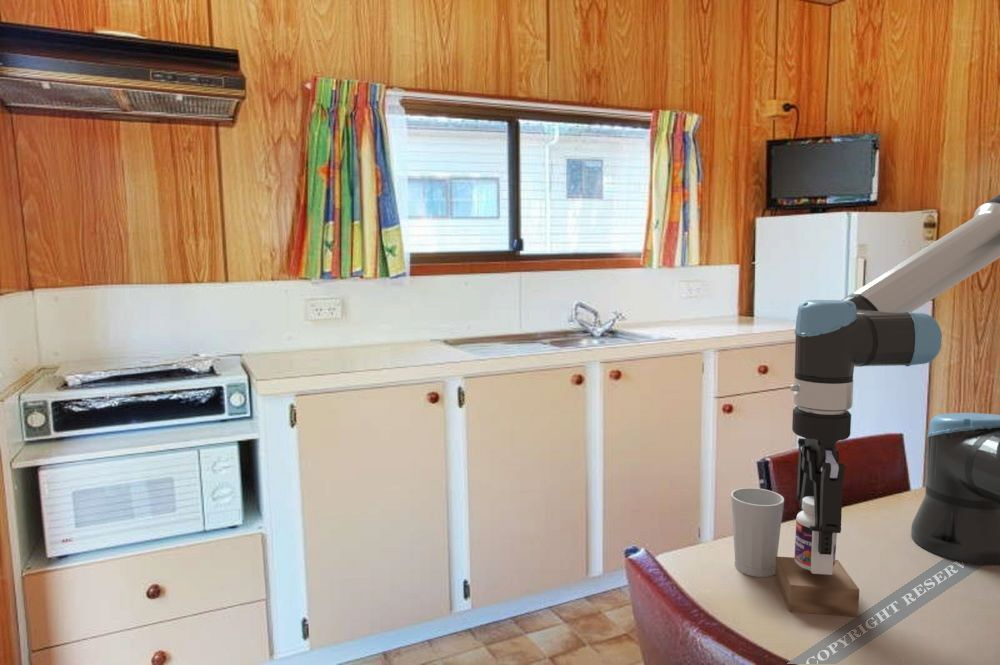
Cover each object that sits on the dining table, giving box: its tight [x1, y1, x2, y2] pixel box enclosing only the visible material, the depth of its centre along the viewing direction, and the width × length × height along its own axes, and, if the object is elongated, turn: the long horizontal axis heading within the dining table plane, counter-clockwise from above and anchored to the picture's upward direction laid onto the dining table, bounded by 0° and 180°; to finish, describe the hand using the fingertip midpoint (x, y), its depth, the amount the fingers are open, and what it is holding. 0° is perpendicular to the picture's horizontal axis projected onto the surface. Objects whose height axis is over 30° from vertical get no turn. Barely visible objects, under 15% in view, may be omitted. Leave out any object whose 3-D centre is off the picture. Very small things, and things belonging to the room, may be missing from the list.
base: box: [774, 555, 860, 618], centre depth 97 cm, size 9×9×4 cm
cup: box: [730, 487, 785, 578], centre depth 106 cm, size 8×8×12 cm
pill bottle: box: [794, 496, 838, 571], centre depth 96 cm, size 5×5×10 cm
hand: (815, 562), depth 96 cm, fingers closed on pill bottle, 5 cm apart
